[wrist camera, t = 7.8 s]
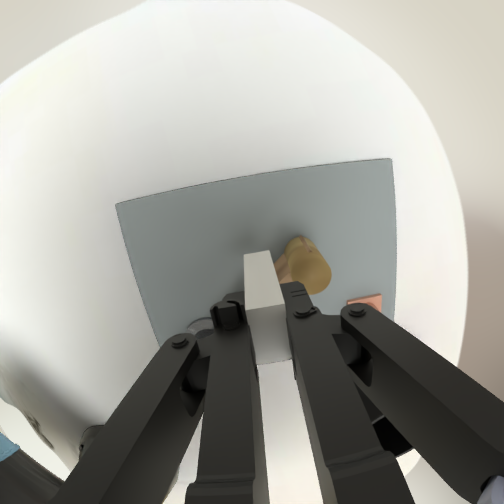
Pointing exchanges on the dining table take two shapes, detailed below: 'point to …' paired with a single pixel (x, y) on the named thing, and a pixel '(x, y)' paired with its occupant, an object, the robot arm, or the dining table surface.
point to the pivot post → (201, 328)
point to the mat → (262, 237)
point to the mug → (385, 428)
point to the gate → (303, 266)
